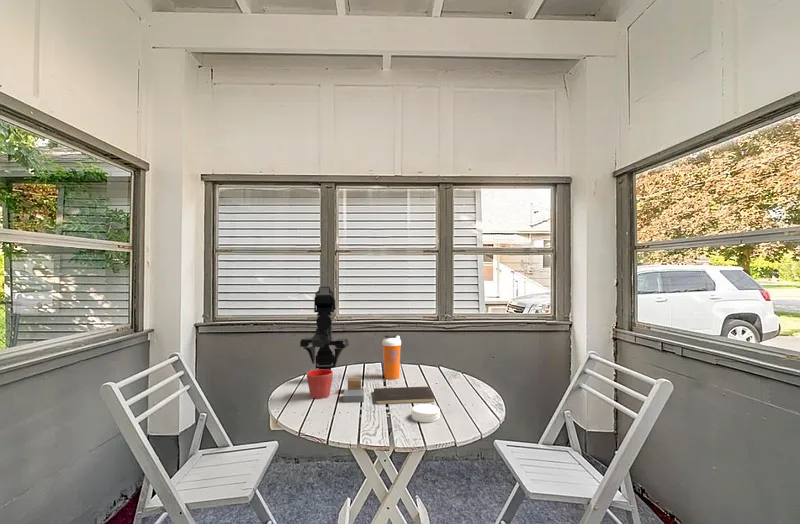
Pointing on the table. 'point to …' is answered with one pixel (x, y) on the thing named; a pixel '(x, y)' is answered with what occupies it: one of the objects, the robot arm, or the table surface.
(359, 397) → the grey box
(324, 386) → the flower pot
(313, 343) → the robot arm
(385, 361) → the shaker bottle
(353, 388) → the tan block
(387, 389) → the hardcover book
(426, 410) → the coaster
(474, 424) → the table surface
